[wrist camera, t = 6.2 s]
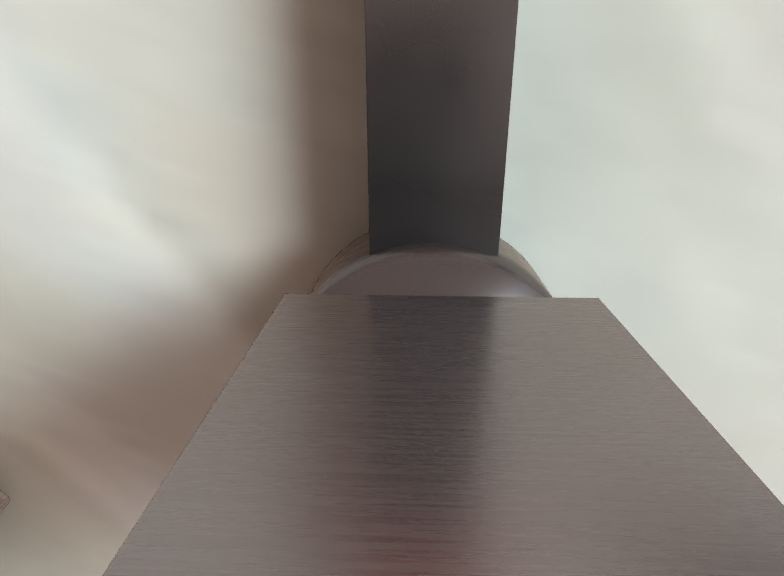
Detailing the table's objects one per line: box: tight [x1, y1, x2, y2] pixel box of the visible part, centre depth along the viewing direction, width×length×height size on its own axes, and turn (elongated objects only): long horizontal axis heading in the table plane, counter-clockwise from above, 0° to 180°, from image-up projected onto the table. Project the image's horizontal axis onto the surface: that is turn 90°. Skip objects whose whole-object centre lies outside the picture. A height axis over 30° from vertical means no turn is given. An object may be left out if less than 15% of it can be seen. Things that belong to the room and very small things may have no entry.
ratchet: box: [311, 0, 553, 298], centre depth 7 cm, size 18×6×6 cm, turn 0°
